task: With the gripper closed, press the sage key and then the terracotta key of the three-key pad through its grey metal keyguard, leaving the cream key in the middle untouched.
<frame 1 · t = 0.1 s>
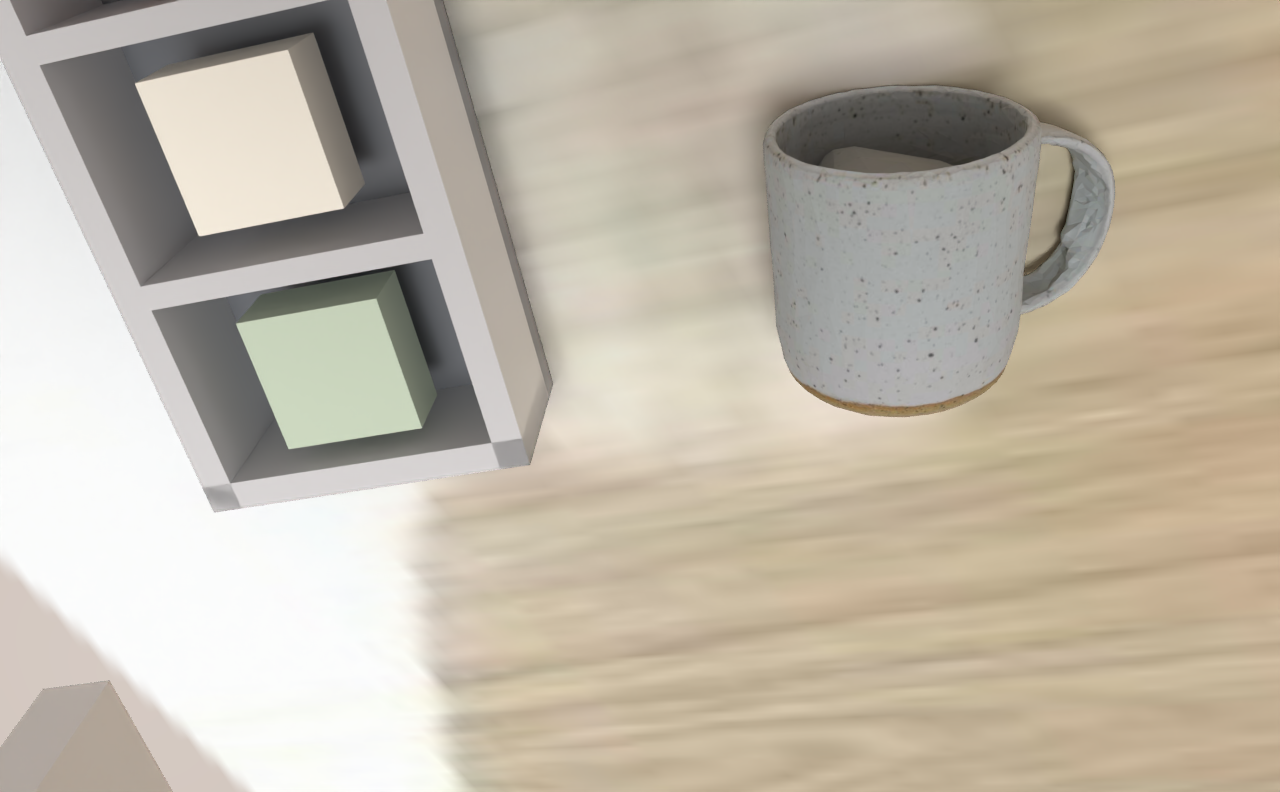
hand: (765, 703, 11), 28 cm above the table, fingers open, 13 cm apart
key sage: (341, 360, 37), point 4 cm above the table, slide at 0.0 cm
keypad base: (298, 100, 37), on the table
key cream: (255, 135, 34), point 4 cm above the table, slide at 0.0 cm
ceramic mug: (924, 193, 38), on the table
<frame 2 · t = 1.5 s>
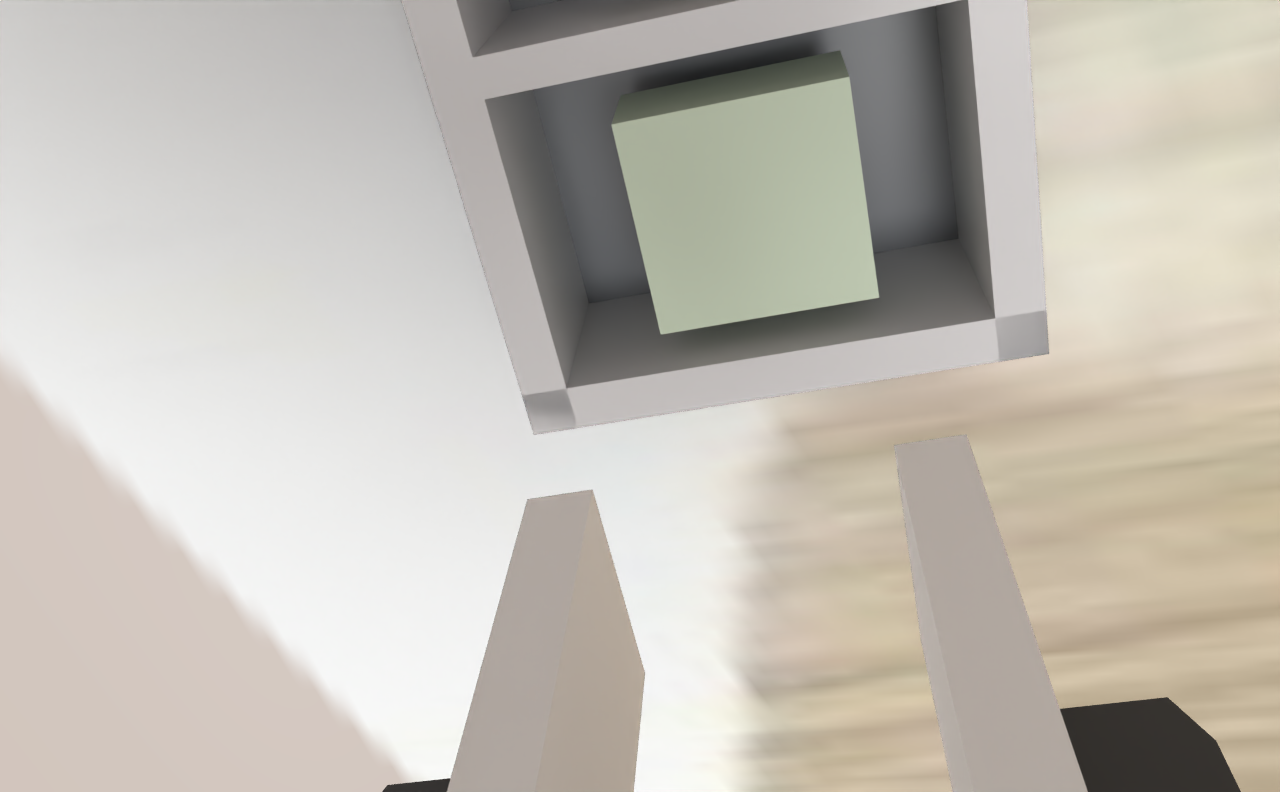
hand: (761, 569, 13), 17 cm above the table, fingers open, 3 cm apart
key sage: (748, 195, 24), point 4 cm above the table, slide at 0.0 cm
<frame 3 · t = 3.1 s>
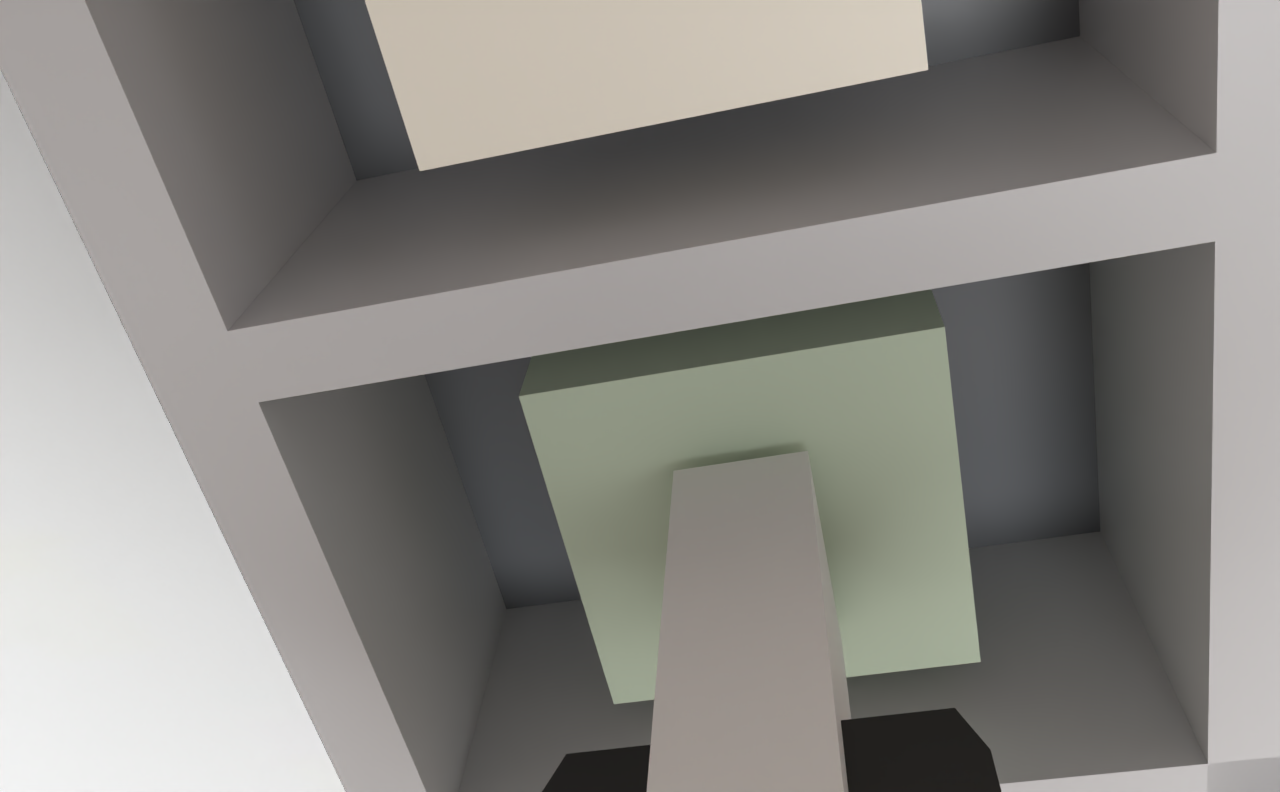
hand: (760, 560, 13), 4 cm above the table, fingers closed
key sage: (759, 483, 14), point 3 cm above the table, slide at 0.9 cm, touching gripper
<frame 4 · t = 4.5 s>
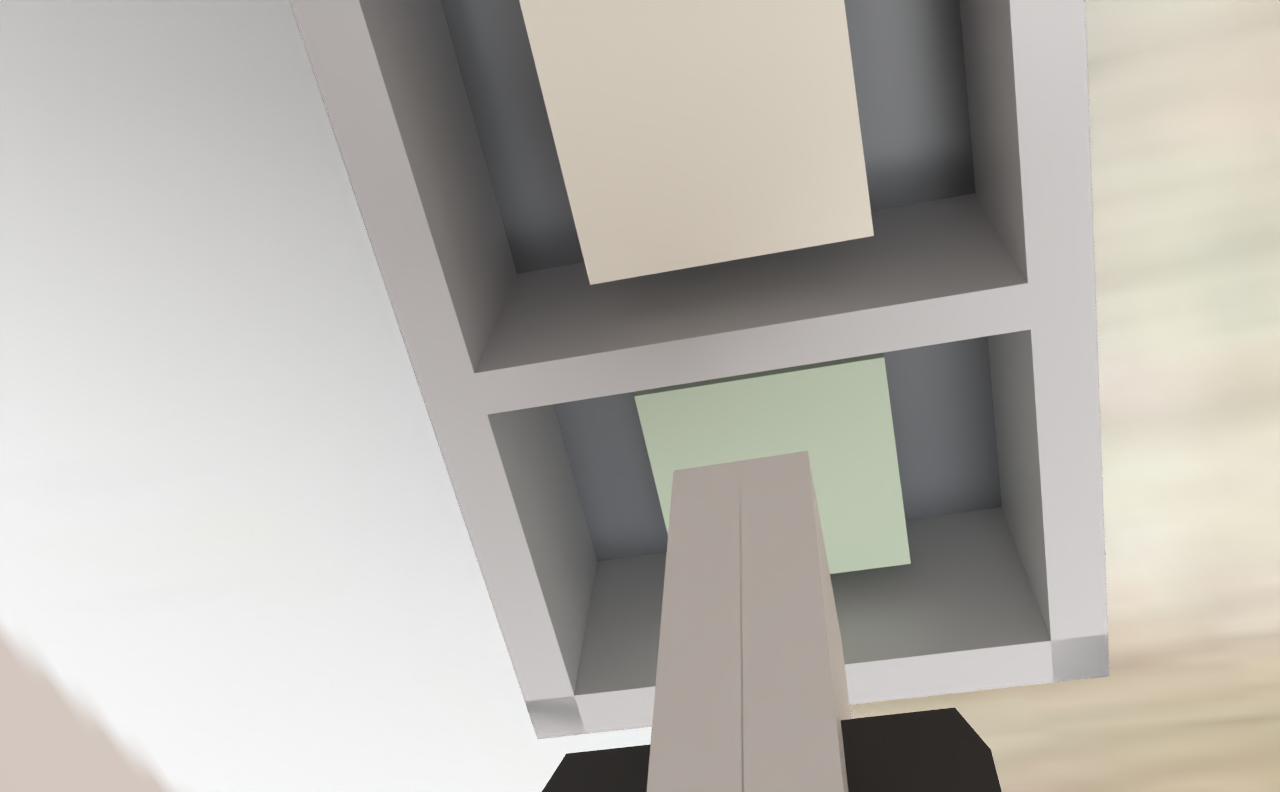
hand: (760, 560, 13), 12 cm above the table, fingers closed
key sage: (774, 453, 23), point 2 cm above the table, slide at 1.5 cm
keypad base: (708, 51, 22), on the table
key cream: (704, 102, 19), point 4 cm above the table, slide at 0.0 cm
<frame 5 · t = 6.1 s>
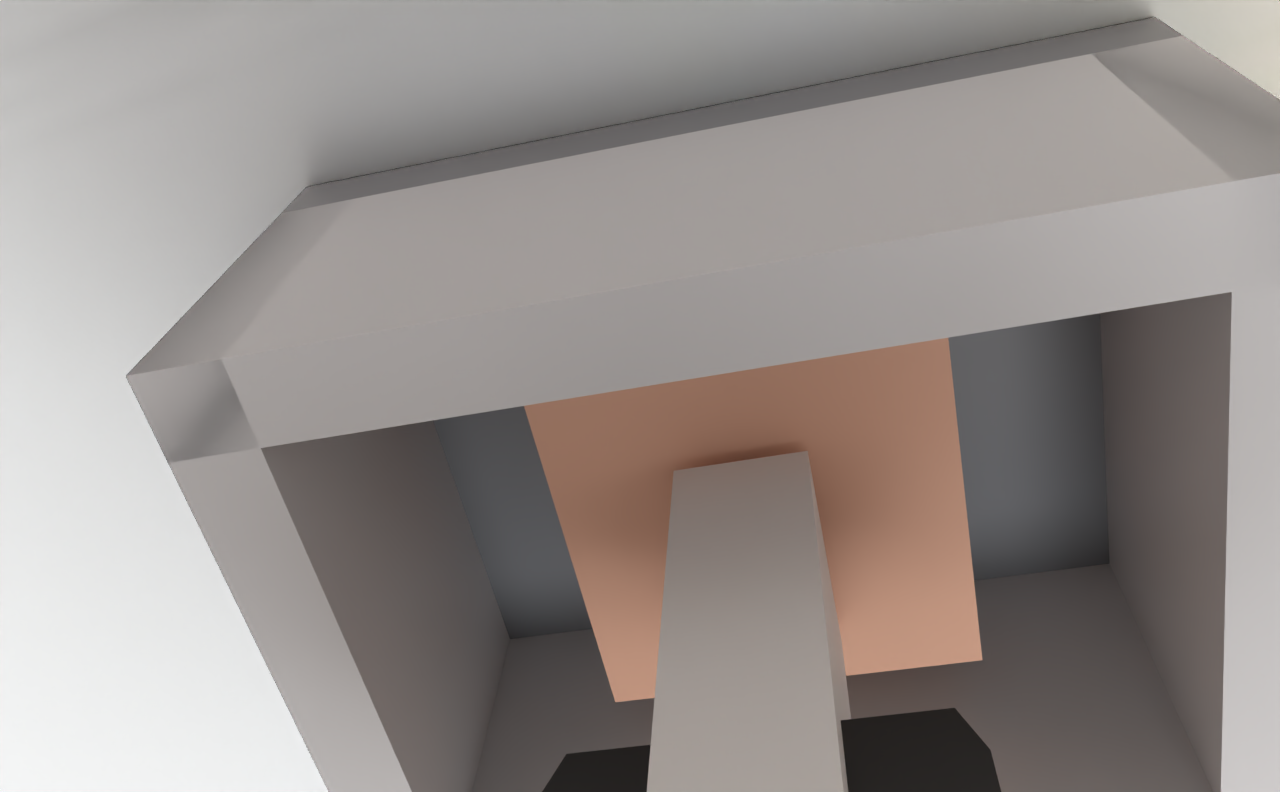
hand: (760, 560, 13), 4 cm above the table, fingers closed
key terracotta: (761, 481, 14), point 3 cm above the table, slide at 1.2 cm
keypad base: (830, 751, 20), on the table
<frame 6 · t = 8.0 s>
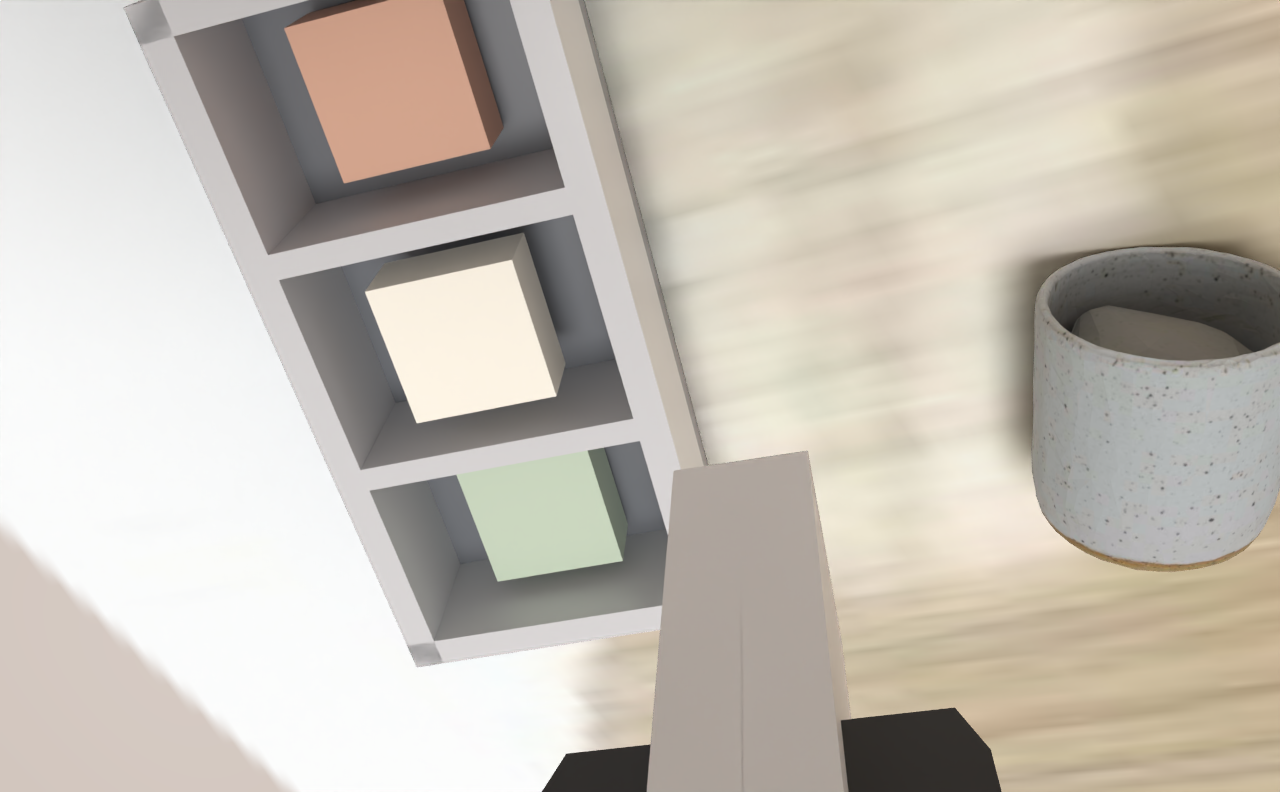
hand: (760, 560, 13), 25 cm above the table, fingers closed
key sage: (545, 500, 41), point 2 cm above the table, slide at 1.5 cm
key terracotta: (398, 80, 34), point 2 cm above the table, slide at 1.5 cm
keypad base: (492, 279, 39), on the table
key cream: (469, 329, 36), point 4 cm above the table, slide at 0.0 cm
ceramic mug: (1164, 342, 39), on the table
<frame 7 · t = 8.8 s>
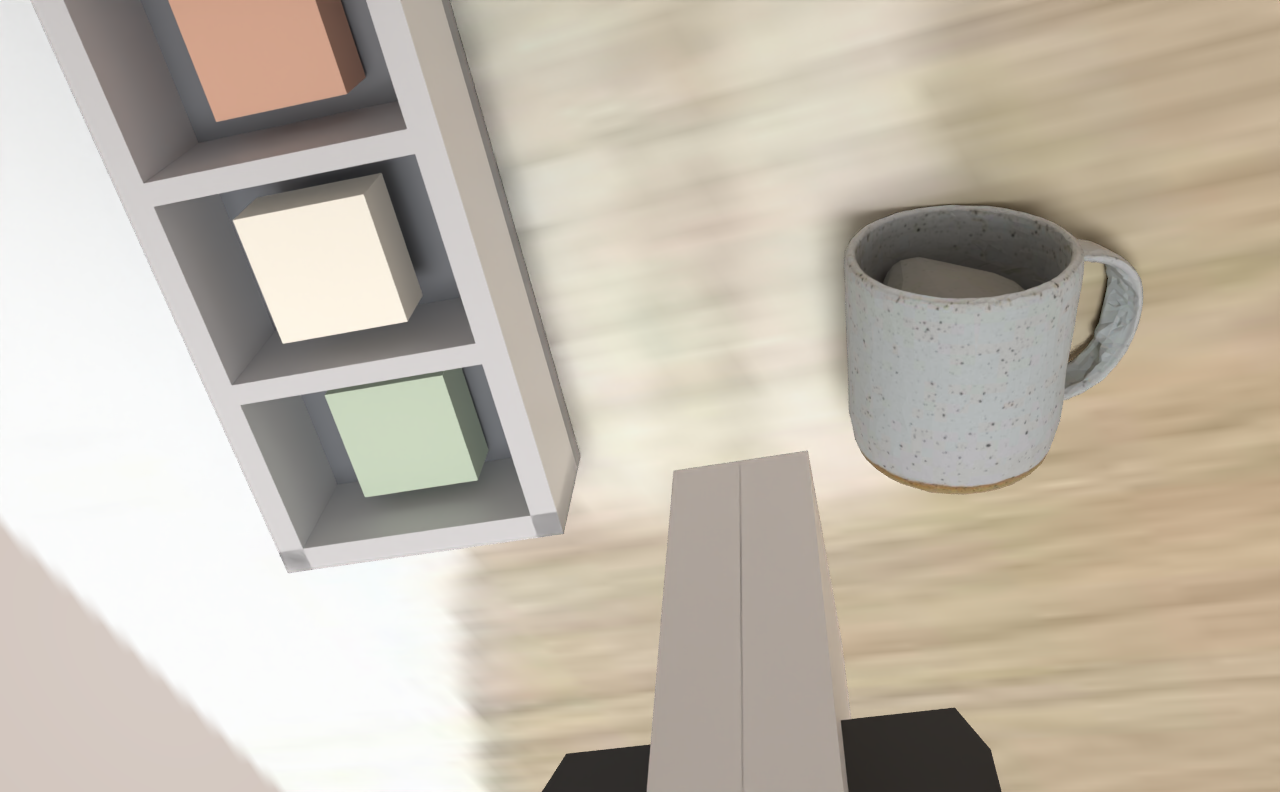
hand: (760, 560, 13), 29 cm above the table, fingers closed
key sage: (409, 423, 45), point 2 cm above the table, slide at 1.5 cm
key terracotta: (267, 29, 38), point 2 cm above the table, slide at 1.5 cm
keypad base: (363, 219, 43), on the table
key cream: (331, 259, 40), point 4 cm above the table, slide at 0.0 cm
ceramic mug: (975, 293, 43), on the table
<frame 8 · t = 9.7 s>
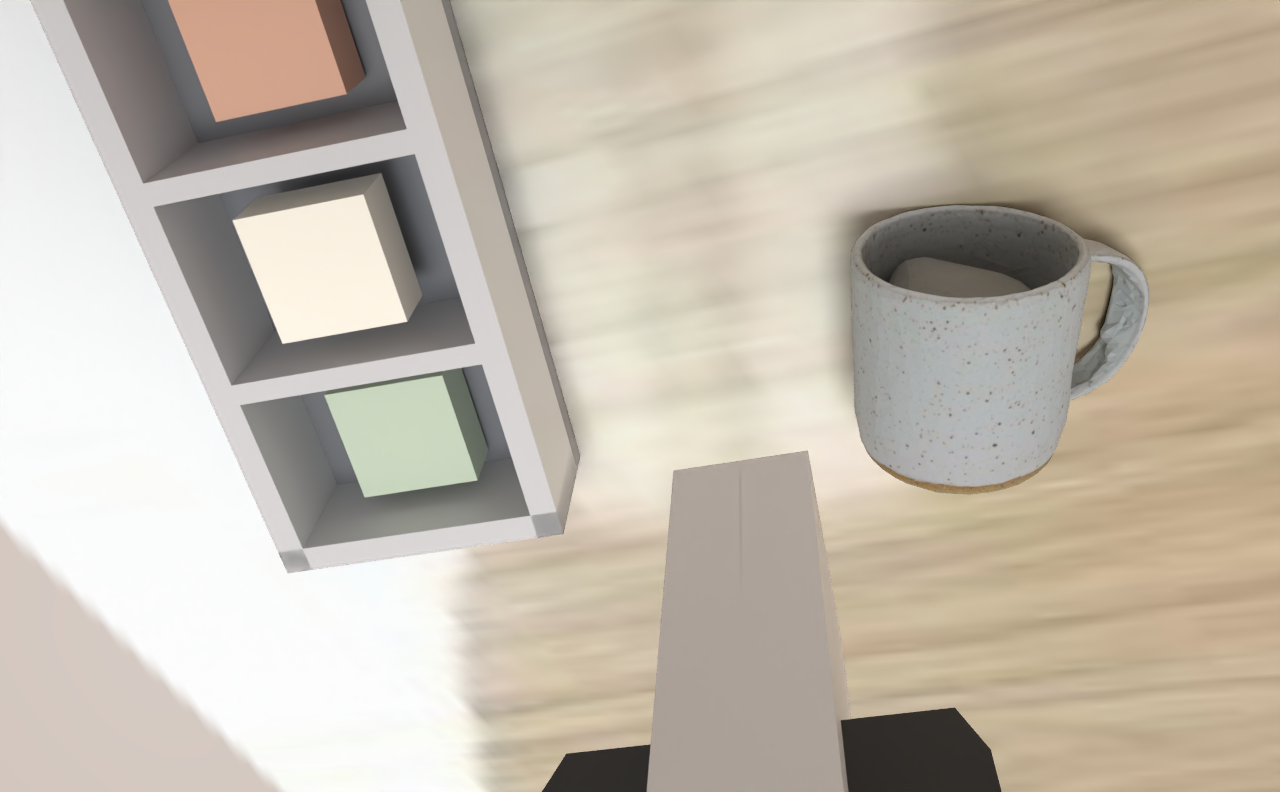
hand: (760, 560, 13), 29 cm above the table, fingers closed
key sage: (409, 423, 45), point 2 cm above the table, slide at 1.5 cm
key terracotta: (266, 29, 38), point 2 cm above the table, slide at 1.5 cm
keypad base: (362, 219, 43), on the table
key cream: (331, 259, 40), point 4 cm above the table, slide at 0.0 cm
ceramic mug: (981, 294, 43), on the table
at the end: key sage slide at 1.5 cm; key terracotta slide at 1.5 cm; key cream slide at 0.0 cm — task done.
